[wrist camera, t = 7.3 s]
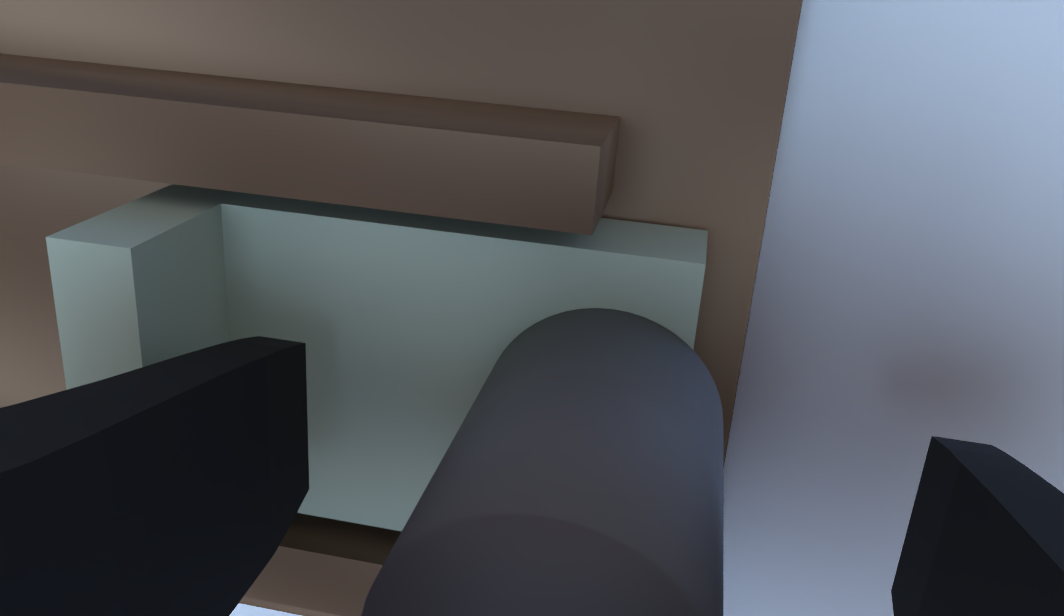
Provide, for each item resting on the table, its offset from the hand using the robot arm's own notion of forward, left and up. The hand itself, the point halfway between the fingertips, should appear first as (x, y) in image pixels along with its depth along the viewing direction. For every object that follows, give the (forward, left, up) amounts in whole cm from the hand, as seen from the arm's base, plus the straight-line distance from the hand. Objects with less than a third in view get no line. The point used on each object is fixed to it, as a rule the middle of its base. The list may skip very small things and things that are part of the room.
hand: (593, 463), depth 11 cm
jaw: (0, +2, -2) cm, 3 cm away
